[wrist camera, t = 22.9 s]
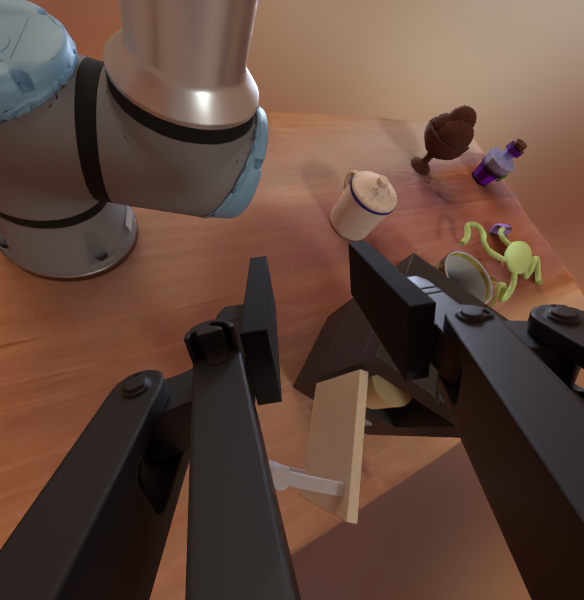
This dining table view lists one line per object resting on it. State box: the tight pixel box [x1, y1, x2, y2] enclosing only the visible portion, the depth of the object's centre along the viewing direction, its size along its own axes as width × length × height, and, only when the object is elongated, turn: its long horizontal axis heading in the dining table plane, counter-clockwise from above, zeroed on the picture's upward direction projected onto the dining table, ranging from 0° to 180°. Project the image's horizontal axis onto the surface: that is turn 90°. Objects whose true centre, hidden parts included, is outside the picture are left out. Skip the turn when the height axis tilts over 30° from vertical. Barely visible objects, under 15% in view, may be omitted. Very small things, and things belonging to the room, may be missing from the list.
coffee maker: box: [293, 253, 509, 438], centre depth 36 cm, size 14×13×20 cm
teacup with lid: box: [330, 170, 397, 241], centre depth 53 cm, size 12×9×12 cm
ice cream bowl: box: [411, 106, 476, 175], centre depth 68 cm, size 11×11×15 cm
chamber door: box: [268, 369, 368, 524], centre depth 26 cm, size 7×11×9 cm, turn 168°
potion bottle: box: [472, 139, 527, 186], centre depth 77 cm, size 9×9×12 cm
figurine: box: [459, 222, 543, 306], centre depth 67 cm, size 18×27×6 cm
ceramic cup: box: [434, 251, 495, 304], centre depth 53 cm, size 13×10×10 cm
